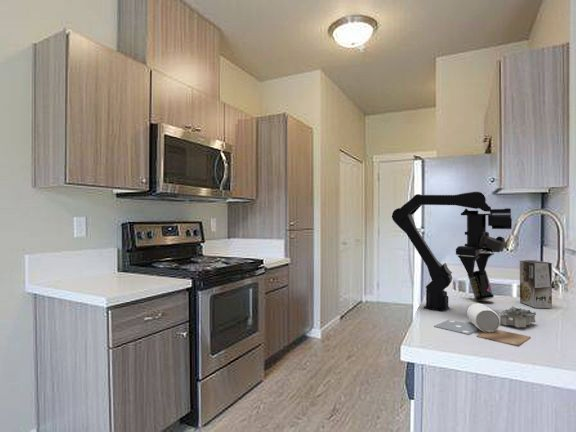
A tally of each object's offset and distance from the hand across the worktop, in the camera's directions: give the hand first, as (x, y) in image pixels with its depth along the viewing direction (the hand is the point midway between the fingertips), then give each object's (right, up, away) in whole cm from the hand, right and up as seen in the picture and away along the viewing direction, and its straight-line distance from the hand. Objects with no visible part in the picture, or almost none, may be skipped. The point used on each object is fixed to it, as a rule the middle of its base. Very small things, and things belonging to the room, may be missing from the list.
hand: (476, 274), depth 124 cm
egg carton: (+8, -14, -15) cm, 21 cm away
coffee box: (+28, -13, +11) cm, 33 cm away
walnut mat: (-6, -13, -25) cm, 29 cm away
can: (-8, -9, -23) cm, 26 cm away
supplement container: (+11, -13, +18) cm, 25 cm away
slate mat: (-14, -13, -16) cm, 25 cm away
